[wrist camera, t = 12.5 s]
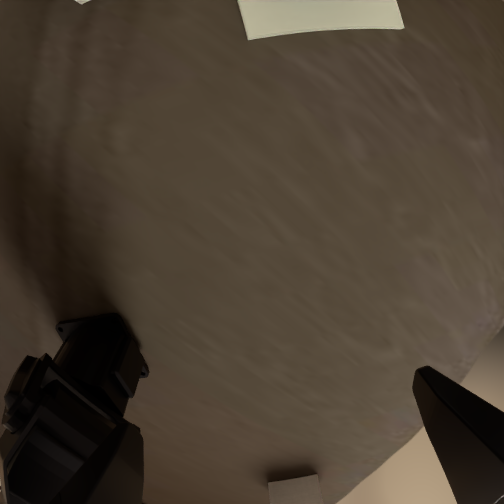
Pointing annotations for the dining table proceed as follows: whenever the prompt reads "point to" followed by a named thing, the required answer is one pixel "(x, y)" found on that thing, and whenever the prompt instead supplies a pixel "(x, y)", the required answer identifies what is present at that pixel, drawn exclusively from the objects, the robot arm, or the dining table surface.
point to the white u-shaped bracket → (82, 1)
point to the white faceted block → (296, 491)
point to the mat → (316, 16)
